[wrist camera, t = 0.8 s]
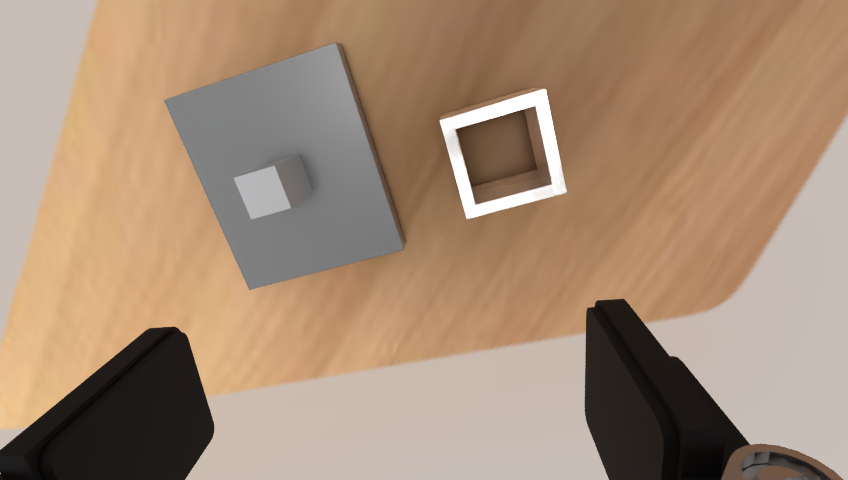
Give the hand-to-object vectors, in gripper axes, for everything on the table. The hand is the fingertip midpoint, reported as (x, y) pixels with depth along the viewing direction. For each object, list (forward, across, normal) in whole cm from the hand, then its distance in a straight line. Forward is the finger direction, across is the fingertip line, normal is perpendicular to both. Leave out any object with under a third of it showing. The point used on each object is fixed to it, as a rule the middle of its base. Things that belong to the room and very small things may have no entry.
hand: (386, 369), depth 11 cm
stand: (+23, +10, -1) cm, 25 cm away
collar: (+23, -5, -2) cm, 23 cm away
